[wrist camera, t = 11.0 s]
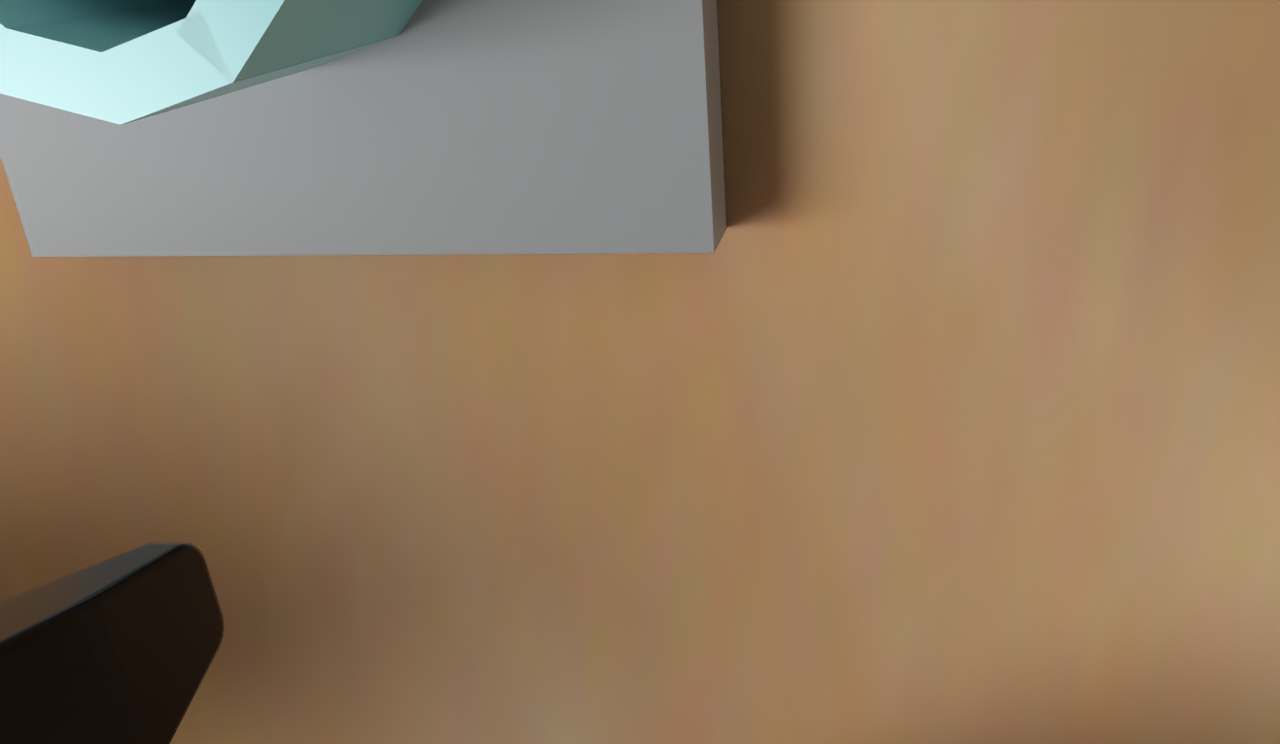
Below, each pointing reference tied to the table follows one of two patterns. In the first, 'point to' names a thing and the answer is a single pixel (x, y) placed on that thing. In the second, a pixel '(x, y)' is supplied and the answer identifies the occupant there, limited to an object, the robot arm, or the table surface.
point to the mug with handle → (175, 48)
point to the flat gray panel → (410, 146)
